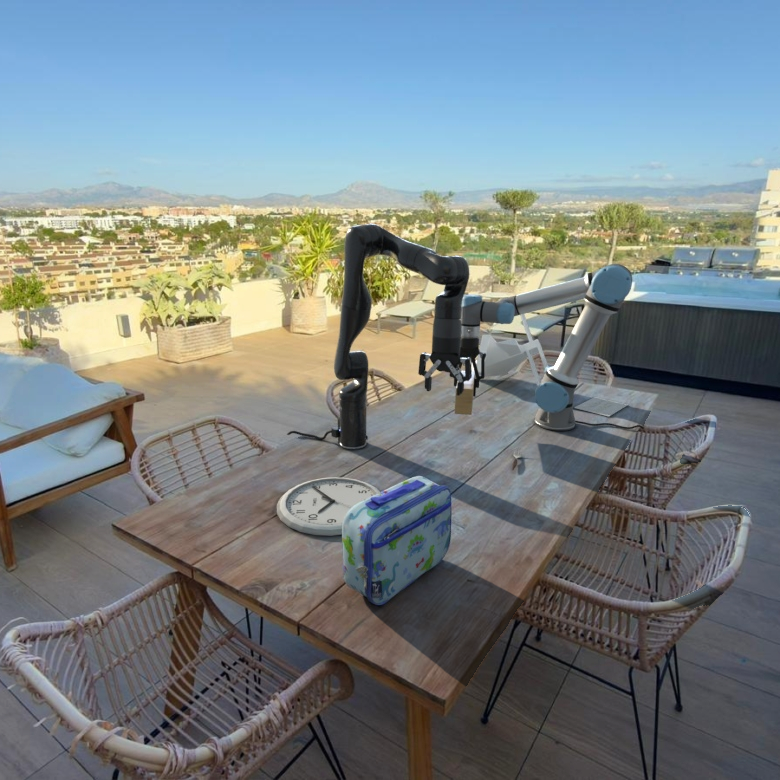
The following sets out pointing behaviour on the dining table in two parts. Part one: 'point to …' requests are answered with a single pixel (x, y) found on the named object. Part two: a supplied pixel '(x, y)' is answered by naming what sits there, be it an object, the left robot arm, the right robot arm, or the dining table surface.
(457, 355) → the left robot arm
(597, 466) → the dining table surface
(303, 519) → the wall clock
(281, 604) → the dining table surface
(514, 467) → the fork
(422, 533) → the lunch box
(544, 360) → the white plastic object
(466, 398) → the bar
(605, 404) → the invitation card
